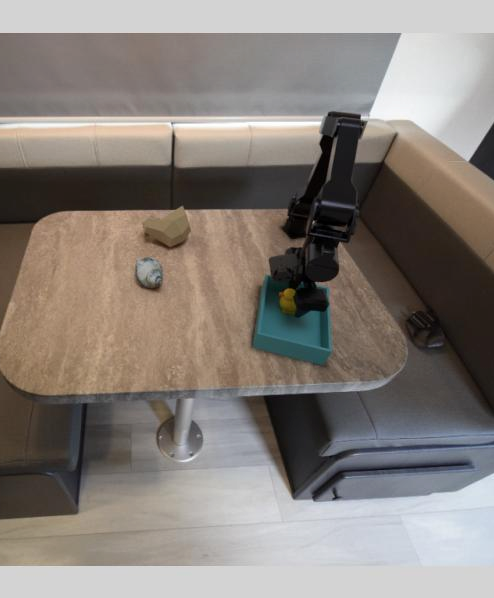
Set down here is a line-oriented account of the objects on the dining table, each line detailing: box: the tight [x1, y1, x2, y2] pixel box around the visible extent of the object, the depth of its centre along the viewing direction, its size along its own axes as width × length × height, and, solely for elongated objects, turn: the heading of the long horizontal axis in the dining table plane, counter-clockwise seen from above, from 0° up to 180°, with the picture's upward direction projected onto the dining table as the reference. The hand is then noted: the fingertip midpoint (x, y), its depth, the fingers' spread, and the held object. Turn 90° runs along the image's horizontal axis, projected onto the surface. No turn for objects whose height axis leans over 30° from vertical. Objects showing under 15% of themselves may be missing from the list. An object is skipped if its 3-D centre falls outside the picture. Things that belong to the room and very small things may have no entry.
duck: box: [279, 288, 296, 314], centre depth 84 cm, size 7×4×6 cm, turn 84°
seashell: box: [135, 256, 163, 289], centre depth 91 cm, size 6×8×12 cm
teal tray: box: [251, 274, 333, 366], centre depth 82 cm, size 20×15×5 cm
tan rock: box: [141, 205, 192, 248], centre depth 102 cm, size 15×11×12 cm
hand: (293, 303), depth 84 cm, fingers open, 8 cm apart
